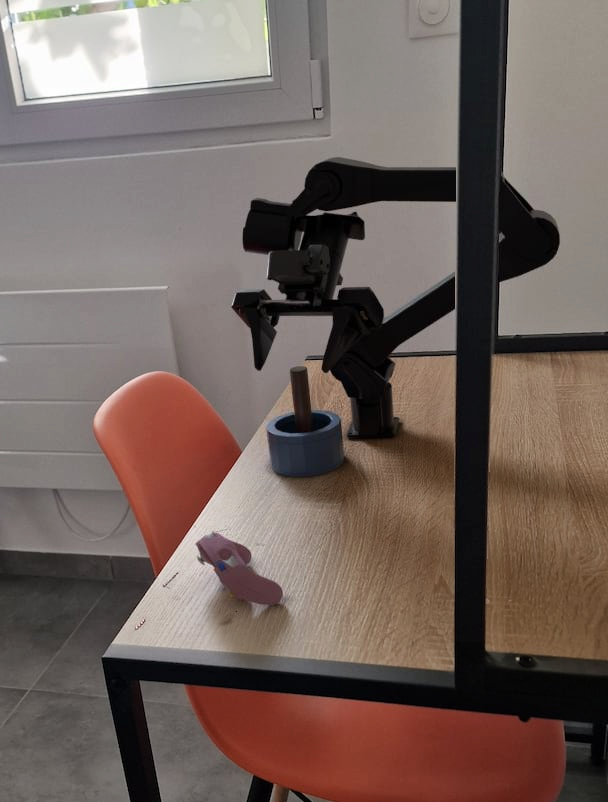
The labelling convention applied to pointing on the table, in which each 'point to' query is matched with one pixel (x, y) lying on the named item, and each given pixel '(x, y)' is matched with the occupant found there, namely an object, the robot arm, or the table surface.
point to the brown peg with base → (301, 399)
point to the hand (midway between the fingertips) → (290, 370)
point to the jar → (305, 445)
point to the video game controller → (237, 570)
